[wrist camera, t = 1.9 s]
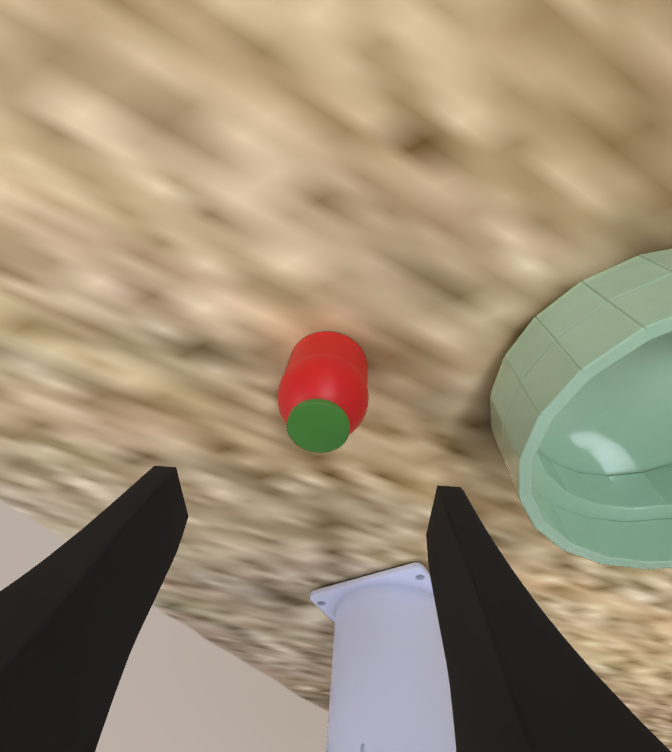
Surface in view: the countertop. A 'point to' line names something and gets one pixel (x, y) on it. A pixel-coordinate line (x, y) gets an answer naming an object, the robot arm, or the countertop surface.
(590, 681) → the robot arm
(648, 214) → the countertop surface
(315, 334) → the strawberry
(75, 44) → the countertop surface
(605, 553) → the bowl
